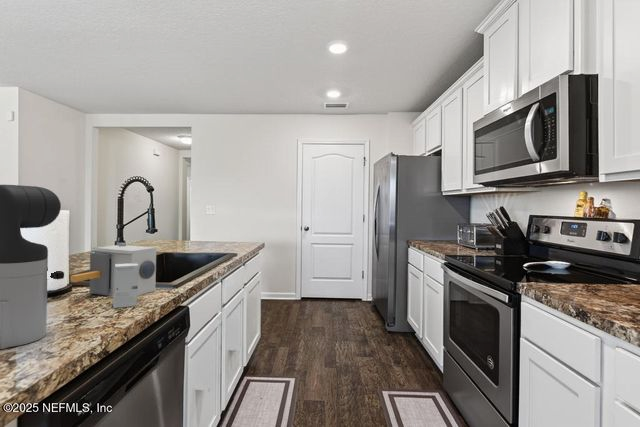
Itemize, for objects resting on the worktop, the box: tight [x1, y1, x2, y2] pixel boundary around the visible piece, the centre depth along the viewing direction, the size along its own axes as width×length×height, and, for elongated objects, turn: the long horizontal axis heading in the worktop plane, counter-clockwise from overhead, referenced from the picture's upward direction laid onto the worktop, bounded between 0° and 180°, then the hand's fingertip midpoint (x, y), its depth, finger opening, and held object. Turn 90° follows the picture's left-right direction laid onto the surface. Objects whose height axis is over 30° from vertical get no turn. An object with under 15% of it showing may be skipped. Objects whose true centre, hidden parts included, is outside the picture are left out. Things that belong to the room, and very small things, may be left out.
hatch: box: [69, 252, 110, 296], centre depth 101 cm, size 9×7×13 cm
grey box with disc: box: [91, 242, 157, 297], centre depth 109 cm, size 11×17×16 cm, turn 73°
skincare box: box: [112, 263, 139, 309], centre depth 95 cm, size 6×4×12 cm
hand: (61, 275), depth 101 cm, fingers closed
